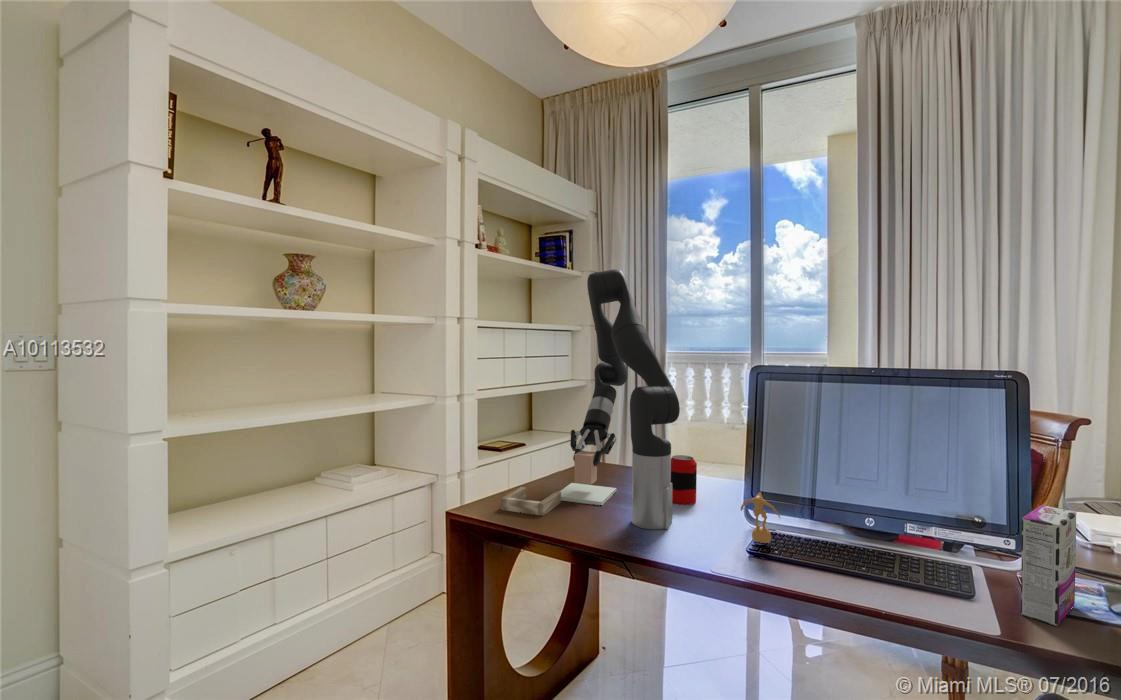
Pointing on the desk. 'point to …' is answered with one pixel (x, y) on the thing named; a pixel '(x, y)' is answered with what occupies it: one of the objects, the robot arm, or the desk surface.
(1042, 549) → the candy bar box
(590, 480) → the terracotta block
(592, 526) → the desk surface
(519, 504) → the maple bay
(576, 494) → the sage mat
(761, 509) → the figurine
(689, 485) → the soda can
